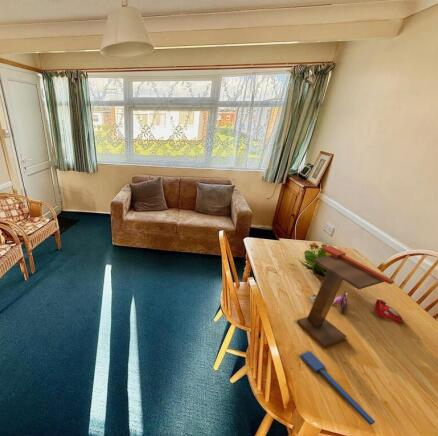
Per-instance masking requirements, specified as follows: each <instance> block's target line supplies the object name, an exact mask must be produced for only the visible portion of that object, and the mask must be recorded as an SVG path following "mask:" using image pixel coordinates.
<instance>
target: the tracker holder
mask: <svg viewBox="0 0 438 436" xmlns="http://www.w3.org/2000/svg"><path fill="white" fill-rule="evenodd" d="M373 312H374V313H375V314H376V315H377V317H379V318H385V319H388V320H390V321H393V322H395V323H398V324H401V323H403V321H404V319H403V317H402V316H401V315H400V314H399V312H398V311H396V310H395V309H394V308H392V307H390V306H389V305H388V303H387V301H385V300H383V299H381V298H379V297H376V301H375V304H374V311H373Z"/></svg>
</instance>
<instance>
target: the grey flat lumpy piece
mask: <svg viewBox="0 0 438 436" xmlns="http://www.w3.org/2000/svg"><path fill="white" fill-rule="evenodd" d="M316 296H317V294H312V295H309V298H310V300H311V302H312V303H313V304H314V301H315V299H316Z"/></svg>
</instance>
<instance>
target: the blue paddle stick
mask: <svg viewBox="0 0 438 436" xmlns="http://www.w3.org/2000/svg"><path fill="white" fill-rule="evenodd" d="M299 357H300V358H301V359H302V361H304V363H306V365H307V366H309V368H310V369H311V370H312V371H313V372H314V373H319V374H320V375H321V376H322V377H323V378H324V379H325V380H326V382H328V383H329V384H330V385H331V386H332V387H333V388H334V390H335V391H337V393H338V394H340V396H341V397H342V398H343V399H344V400H345V401H346V402H347V403H348V404H349V405H350V406H351V407H352V408H353V410H355V411H356V412H357V413H358V414H359V415H360V416H361V418H362V419H364V421H366V423H368V424H369V426H372V425H373V424H375V422H376V420H375V419H374V418H372V416H370V414H369V413H367V411H366V410H365V409H364V408H362V406H360V404H359V403H358V402H357V401H355V400H354V398H353V397H352V396H351V395H350V394H349V393H348V392H347V391H346V390H345V389H344V388H343V387H342V386H341V385H340V384H339V383H338V382H337V381H336V380H335V379H334V378H333V377H332V376H331V375H330V374H329V373H328V372H327V371H326V370H325V368H326V365H325V364H324V363H323V362H321V360H319V358H317V357H316V355H315V354H313V352H311V350H310V351H306V352H304V353H301V354H300V356H299Z"/></svg>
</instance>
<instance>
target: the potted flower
mask: <svg viewBox="0 0 438 436" xmlns="http://www.w3.org/2000/svg"><path fill="white" fill-rule="evenodd" d="M309 246H310V247H309V249H310V250H308V249H307V250H305V251H303V254H304V259H305V261H301V260H300V259H298V261H299V262H300V263H301V265H302V266H304V267H305V269H306V270H310V271H312V273H313V275H315V276H316V277H318V278H319V279H322V280H323V279H324V277H325V275H326V272H327V270H326V269H324V268H323V267H321V266H319V265H318V264H316V263H314V262H313V259H317V258H321V257H326V256H330V255H331V254H329V253H327V252H325V251H323V250H322V248H323V247H326V246H328V244H324V243H322V244H320V245H319V244H317V242H312V243H309ZM337 249H338V250H340V251H342V250H341V249H339V248H337Z"/></svg>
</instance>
